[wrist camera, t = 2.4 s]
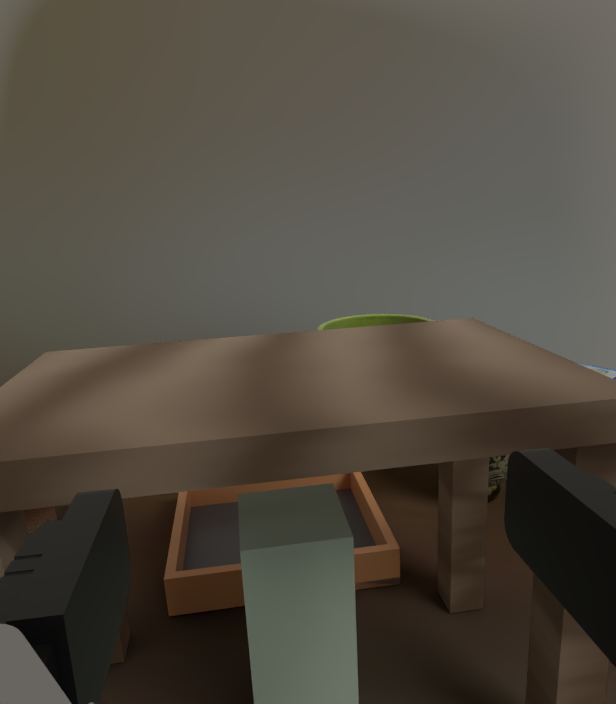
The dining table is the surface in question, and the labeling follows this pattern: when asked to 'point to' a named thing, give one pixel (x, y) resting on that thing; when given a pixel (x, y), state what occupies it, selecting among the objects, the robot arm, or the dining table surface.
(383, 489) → the dining table surface
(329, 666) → the sage block
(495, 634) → the dining table surface
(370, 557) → the shallow orange tray
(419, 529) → the dining table surface
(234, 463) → the walnut table
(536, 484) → the robot arm
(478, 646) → the dining table surface
